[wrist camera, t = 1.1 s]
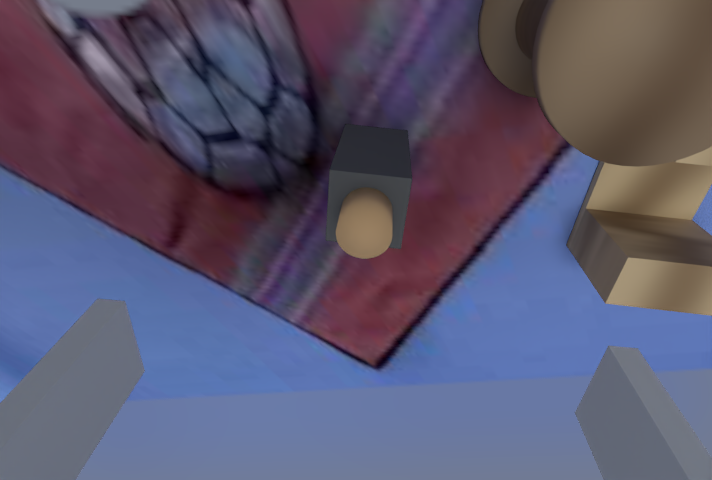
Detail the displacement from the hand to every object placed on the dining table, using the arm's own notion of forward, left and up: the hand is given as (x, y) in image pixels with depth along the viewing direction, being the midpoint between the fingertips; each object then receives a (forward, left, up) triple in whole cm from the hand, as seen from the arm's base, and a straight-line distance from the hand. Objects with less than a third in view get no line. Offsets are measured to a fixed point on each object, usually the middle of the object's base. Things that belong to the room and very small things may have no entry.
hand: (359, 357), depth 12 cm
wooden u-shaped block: (+18, 0, -19) cm, 26 cm away
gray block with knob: (0, -1, -19) cm, 19 cm away
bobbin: (+9, +8, -19) cm, 22 cm away
